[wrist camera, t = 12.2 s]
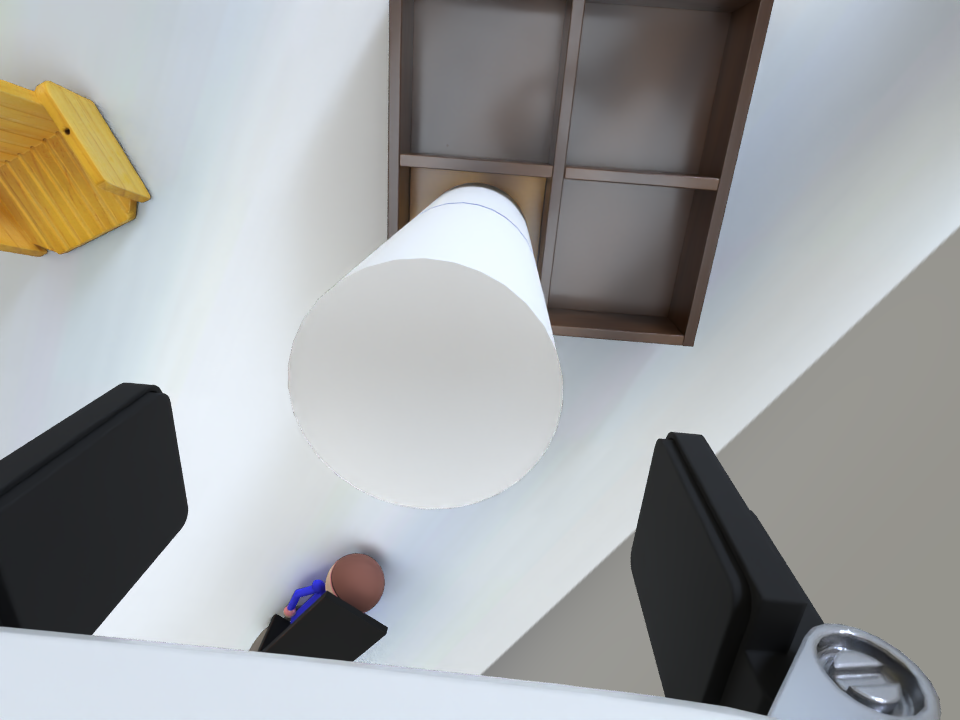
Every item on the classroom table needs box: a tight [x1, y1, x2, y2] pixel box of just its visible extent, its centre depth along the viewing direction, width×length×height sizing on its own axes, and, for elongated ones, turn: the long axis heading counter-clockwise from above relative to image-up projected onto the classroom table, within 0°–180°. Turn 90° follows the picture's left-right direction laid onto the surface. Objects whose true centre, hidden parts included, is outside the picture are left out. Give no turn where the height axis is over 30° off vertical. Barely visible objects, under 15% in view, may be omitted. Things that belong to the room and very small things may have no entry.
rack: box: [387, 0, 774, 347], centre depth 34 cm, size 20×20×5 cm
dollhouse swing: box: [0, 80, 150, 257], centre depth 33 cm, size 10×10×9 cm
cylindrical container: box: [288, 183, 563, 509], centre depth 26 cm, size 7×7×25 cm
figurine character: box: [249, 553, 388, 662], centre depth 48 cm, size 7×8×15 cm
